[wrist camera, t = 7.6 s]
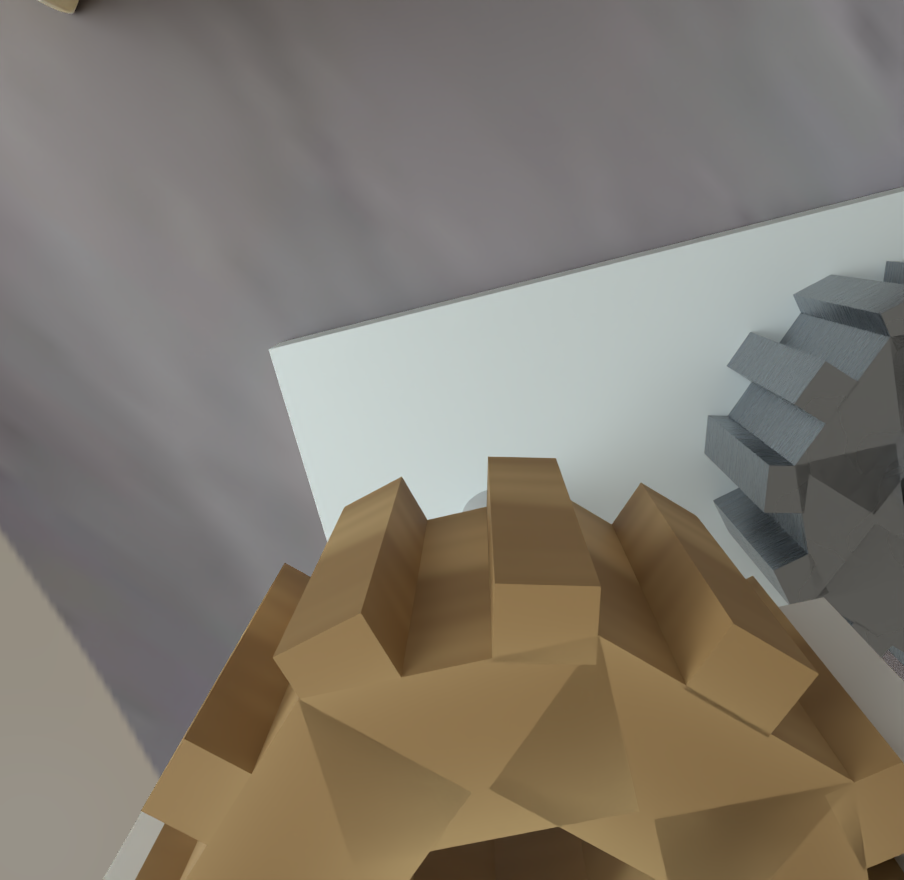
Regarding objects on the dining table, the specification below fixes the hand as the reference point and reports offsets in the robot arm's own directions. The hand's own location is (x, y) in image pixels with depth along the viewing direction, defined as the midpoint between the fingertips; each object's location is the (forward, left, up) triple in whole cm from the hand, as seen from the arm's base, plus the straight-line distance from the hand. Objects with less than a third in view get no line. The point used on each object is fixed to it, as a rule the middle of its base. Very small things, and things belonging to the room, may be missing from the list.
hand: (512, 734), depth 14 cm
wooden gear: (0, 0, 0) cm, 0 cm away
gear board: (0, +6, -12) cm, 13 cm away
